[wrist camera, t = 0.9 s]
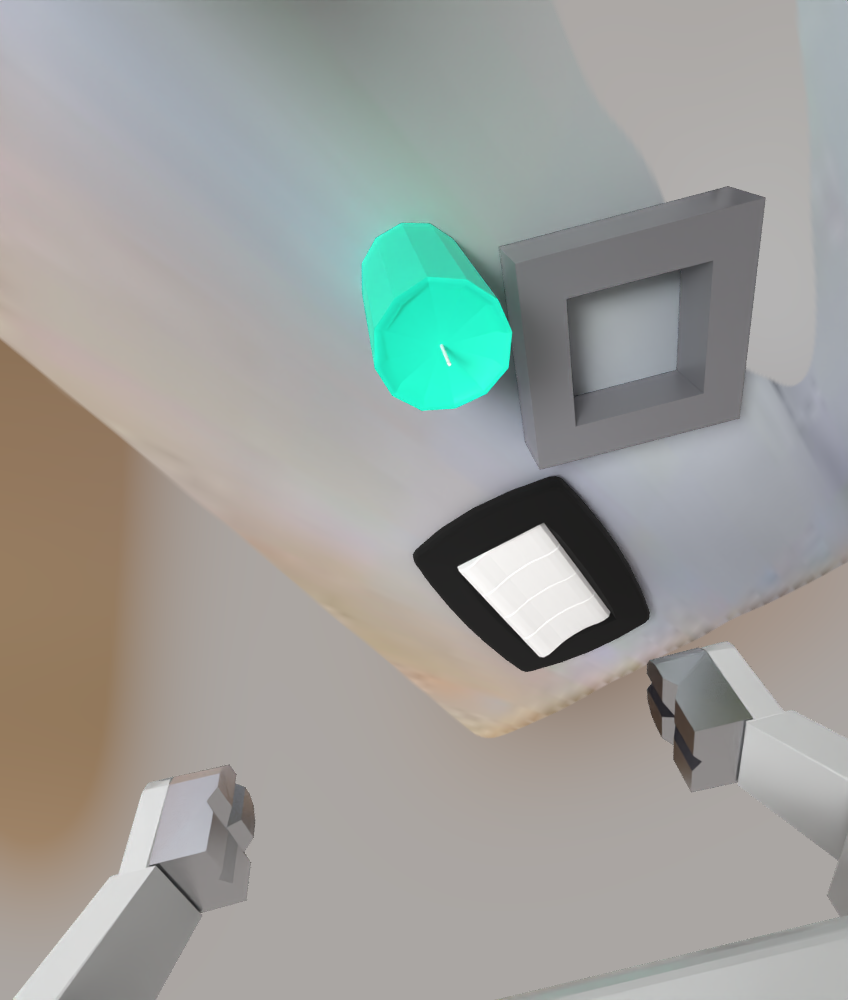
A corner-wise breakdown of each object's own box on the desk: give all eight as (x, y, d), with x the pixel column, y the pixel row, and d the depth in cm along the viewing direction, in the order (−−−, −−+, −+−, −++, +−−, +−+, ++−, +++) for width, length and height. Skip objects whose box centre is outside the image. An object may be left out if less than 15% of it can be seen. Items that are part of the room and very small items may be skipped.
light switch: (396, 568, 44) (568, 477, 40) (395, 541, 46) (558, 452, 42) (522, 690, 55) (669, 630, 51) (517, 664, 57) (657, 603, 53)
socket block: (499, 247, 33) (515, 263, 31) (728, 186, 33) (765, 197, 30) (525, 442, 41) (539, 469, 38) (711, 394, 41) (739, 418, 38)
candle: (481, 239, 33) (545, 311, 24) (446, 341, 36) (490, 442, 27) (375, 206, 31) (398, 269, 22) (348, 316, 35) (358, 413, 25)
